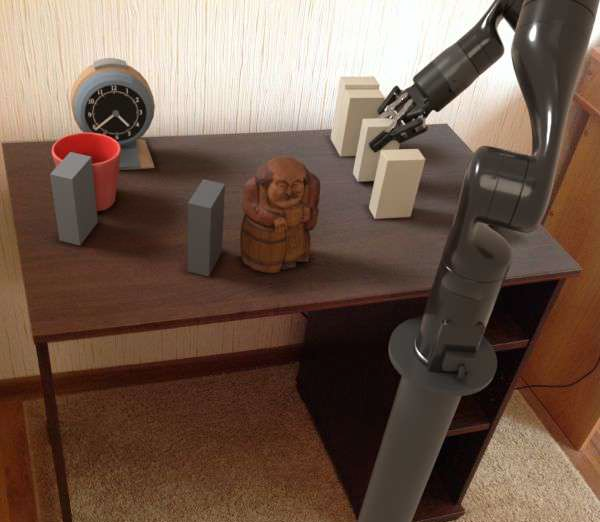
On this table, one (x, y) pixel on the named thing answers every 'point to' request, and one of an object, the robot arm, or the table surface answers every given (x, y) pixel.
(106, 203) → the flower pot
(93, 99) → the alarm clock
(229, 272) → the table surface
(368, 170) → the beige block
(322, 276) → the table surface
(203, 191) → the pair of grey blocks
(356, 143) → the cream books
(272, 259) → the wooden figurine
